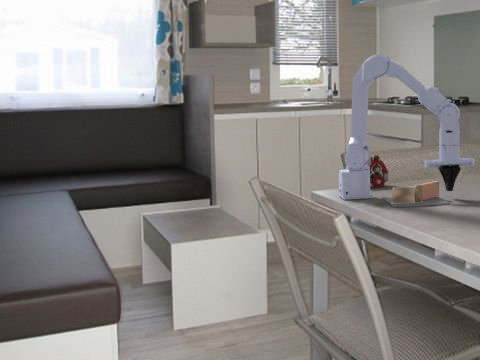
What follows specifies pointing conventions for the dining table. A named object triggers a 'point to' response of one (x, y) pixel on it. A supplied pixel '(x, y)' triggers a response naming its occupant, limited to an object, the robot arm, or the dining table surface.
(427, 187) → the tan flat block
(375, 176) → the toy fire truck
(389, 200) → the card
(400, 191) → the fence fixed
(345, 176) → the robot arm
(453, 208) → the dining table surface
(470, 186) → the dining table surface
